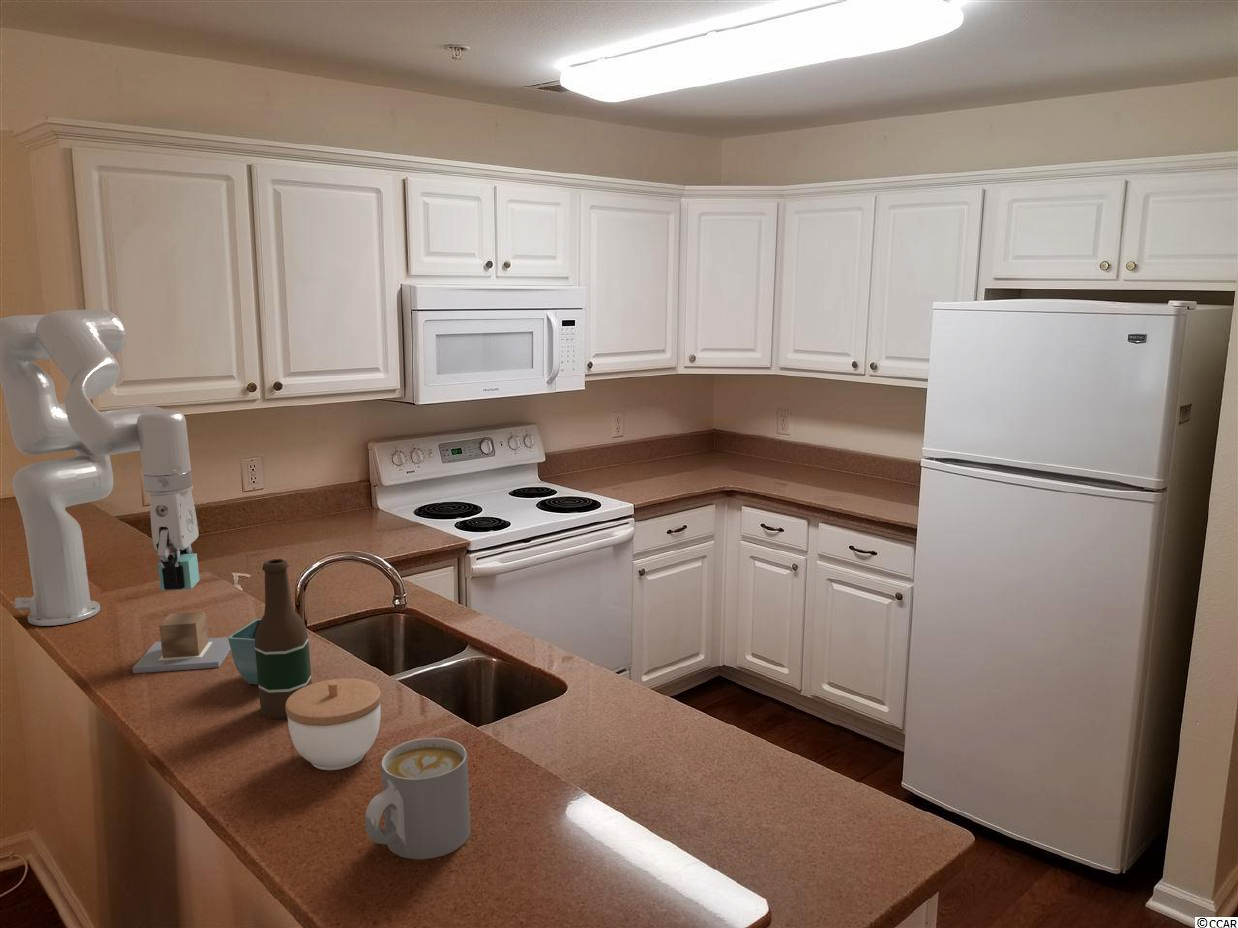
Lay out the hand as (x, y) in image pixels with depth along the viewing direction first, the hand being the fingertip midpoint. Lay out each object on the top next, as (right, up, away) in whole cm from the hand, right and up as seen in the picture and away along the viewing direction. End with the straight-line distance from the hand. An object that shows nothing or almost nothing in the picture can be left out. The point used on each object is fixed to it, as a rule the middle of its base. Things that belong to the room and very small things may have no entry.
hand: (179, 582), depth 163 cm
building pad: (0, -14, +3) cm, 14 cm away
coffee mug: (+53, -24, -53) cm, 79 cm away
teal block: (0, -1, 0) cm, 1 cm away
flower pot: (+19, -16, -7) cm, 25 cm away
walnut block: (0, -12, +3) cm, 13 cm away
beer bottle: (+25, -18, -18) cm, 36 cm away
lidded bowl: (+38, -20, -33) cm, 54 cm away
